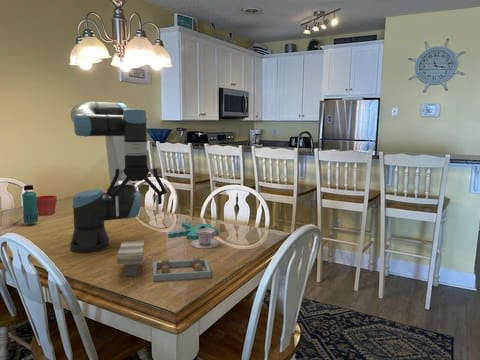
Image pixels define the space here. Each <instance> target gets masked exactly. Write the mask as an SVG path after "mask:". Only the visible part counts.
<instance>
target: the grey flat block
mask: <svg viewBox="0 0 480 360" xmlns="http://www.w3.org/2000/svg"><path fill="white" fill-rule="evenodd" d="M145 243H146V242H145V240H134V241H133V240H132V241H130V240H129V241H121V244H120V247H119V249H118V252H117V254H116V255H117V256H116V263H117V264H116V265H117V266H124V265H125V264H139V265H141V264H143V262H144V255H145V247H146V246H145Z"/></svg>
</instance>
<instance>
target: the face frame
mask: <svg viewBox="0 0 480 360" xmlns="http://www.w3.org/2000/svg"><path fill="white" fill-rule="evenodd" d="M202 266H204V269H205V270H203V269H202ZM181 267H192V268H193V269H194V271H183V272H170V268H181ZM158 269H161V273H158V272H157V271H158ZM211 273H212V272H211V268H210V265H209V262H208V259H207V258H201V257H196V256H195V257H193V258H192V259H183V260H180V259H179V260H169V259H168V258H167V259H166V258H164V259H161V261H154V262H153V272H152V281H153V282H159V281H162V282H163V281H174V280H176V281H177V280H189V279H205V278H211V277H212V275H211Z"/></svg>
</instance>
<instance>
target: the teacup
mask: <svg viewBox="0 0 480 360" xmlns="http://www.w3.org/2000/svg"><path fill="white" fill-rule="evenodd" d="M195 232H196V234H197V235H198V237H199V238H197V239H196V240H192V241H191V243H190V245H191V246H192V247H193V248H196V249H203V250H204V249H205V250H206V249H212V248H216V247H218V246H219V241H217V240H215V236H216V235H217V234H216V233H215V232H216V231H215V230H214V229H209V228H202V229H197V230H195ZM213 233H214V236H212V234H213ZM215 234H216V235H215Z"/></svg>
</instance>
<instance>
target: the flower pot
mask: <svg viewBox="0 0 480 360" xmlns="http://www.w3.org/2000/svg"><path fill="white" fill-rule="evenodd" d="M36 199H37V209H38V210H37V213H38V216H52V215H54V214H55V212H56V207H57V199H58V197H57V196H56V195H51V194H50V195H39V196H36Z"/></svg>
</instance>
